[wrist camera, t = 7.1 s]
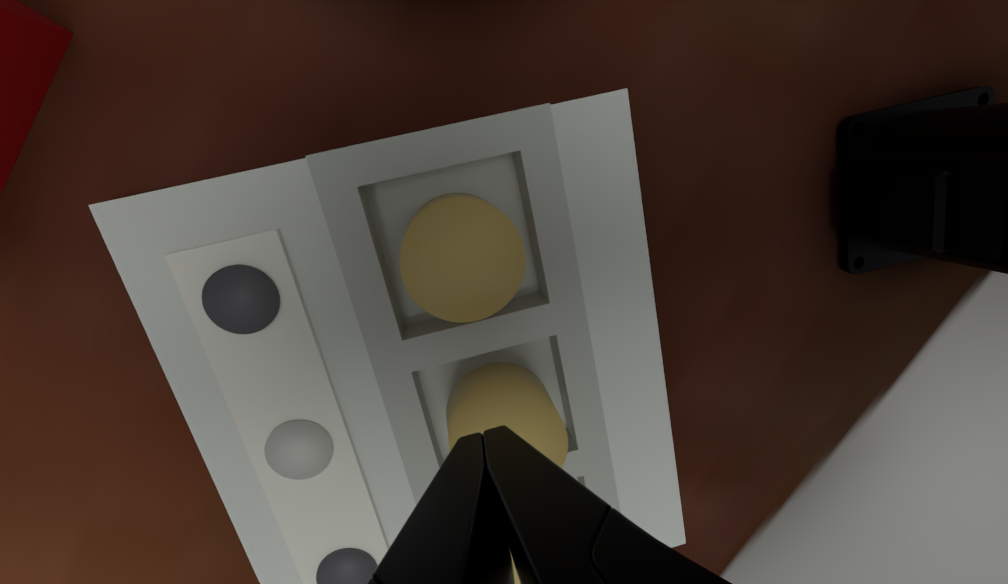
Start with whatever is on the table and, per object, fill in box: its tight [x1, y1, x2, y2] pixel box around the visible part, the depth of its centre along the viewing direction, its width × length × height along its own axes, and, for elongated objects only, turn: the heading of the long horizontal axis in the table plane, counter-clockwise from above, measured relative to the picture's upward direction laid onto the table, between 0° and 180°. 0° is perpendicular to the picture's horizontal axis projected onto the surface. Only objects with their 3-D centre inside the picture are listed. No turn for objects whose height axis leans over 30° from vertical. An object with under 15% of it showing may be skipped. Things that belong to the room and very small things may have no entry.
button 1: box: [400, 193, 526, 323], centre depth 16 cm, size 4×4×3 cm
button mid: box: [446, 362, 568, 468], centre depth 17 cm, size 4×4×3 cm
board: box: [88, 88, 686, 584], centre depth 19 cm, size 18×20×3 cm
